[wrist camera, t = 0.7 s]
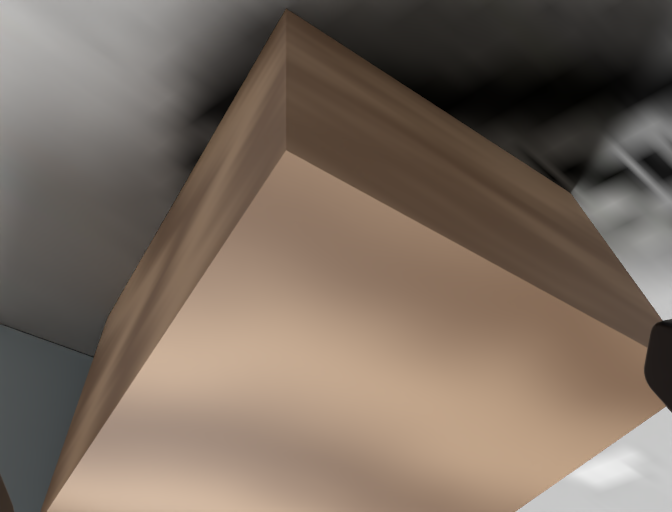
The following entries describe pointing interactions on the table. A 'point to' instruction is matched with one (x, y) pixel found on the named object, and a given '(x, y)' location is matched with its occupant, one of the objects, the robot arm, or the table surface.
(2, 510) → the robot arm
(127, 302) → the walnut block
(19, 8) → the table surface
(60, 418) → the slate board
